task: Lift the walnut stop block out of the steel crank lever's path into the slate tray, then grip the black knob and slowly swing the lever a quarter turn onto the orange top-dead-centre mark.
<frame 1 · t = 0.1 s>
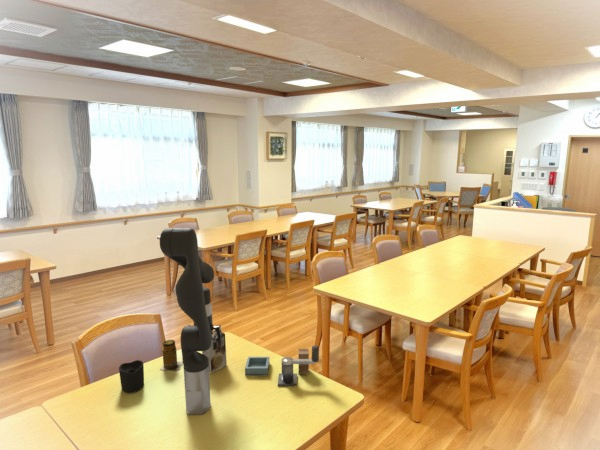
hand: (204, 349, 162), 17 cm above the table, tool pointing down, fingers open, 8 cm apart
pen holder: (133, 387, 165), on the table
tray: (257, 369, 178), on the table
crank lever: (300, 355, 167), point 12 cm above the table, hinge at -90.0°
coffee box: (214, 367, 180), on the table
condiment: (172, 366, 181), on the table
stop block: (303, 371, 176), on the table
crank pedestal: (287, 380, 169), on the table
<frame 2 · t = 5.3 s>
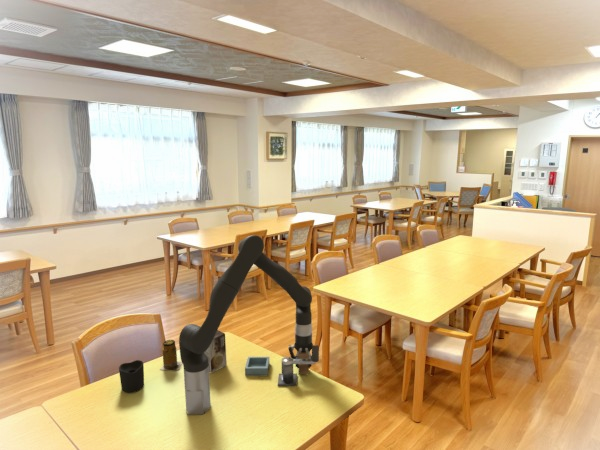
hand: (303, 367, 176), 2 cm above the table, tool pointing down, fingers closed on stop block, 4 cm apart
stop block: (303, 371, 176), on the table, touching gripper
everything else where it was.
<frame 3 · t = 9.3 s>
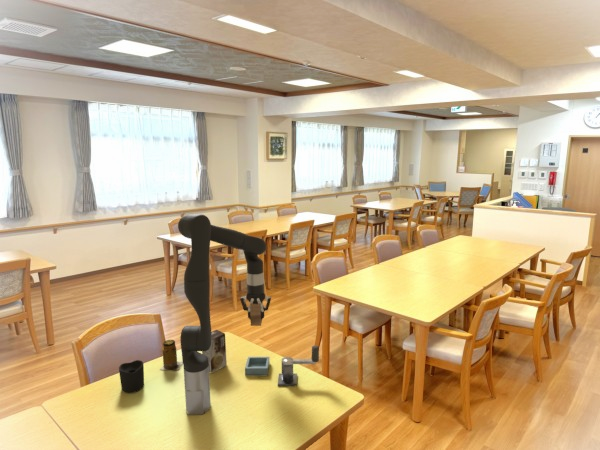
hand: (256, 318, 174), 25 cm above the table, tool pointing down, fingers closed on stop block, 4 cm apart
stop block: (256, 323, 174), point 22 cm above the table, touching gripper
everything else where it was.
when the fingers open (5 cm above the table, at t = 13.3 s): stop block drops 1 cm, resting on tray.
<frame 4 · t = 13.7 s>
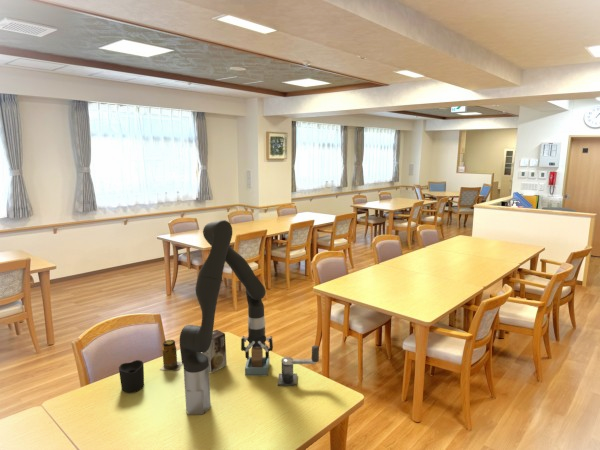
hand: (257, 358, 177), 5 cm above the table, tool pointing down, fingers open, 8 cm apart
stop block: (257, 367, 178), point 1 cm above the table, touching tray
everything else where it was.
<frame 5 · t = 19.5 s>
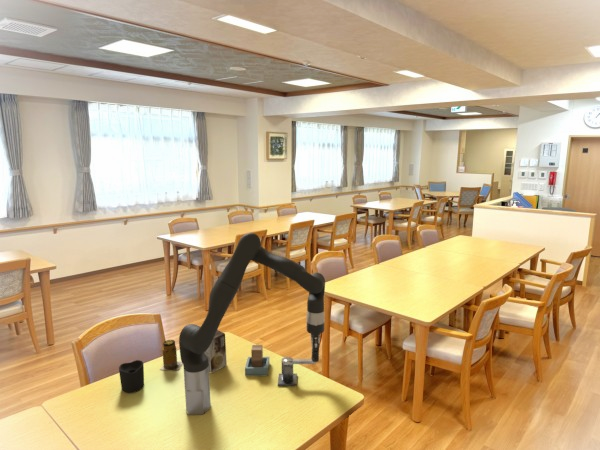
hand: (315, 358, 167), 11 cm above the table, tool pointing down, fingers closed on crank lever, 3 cm apart
crank lever: (300, 355, 167), point 12 cm above the table, hinge at -89.9°, touching gripper
everything else where it was.
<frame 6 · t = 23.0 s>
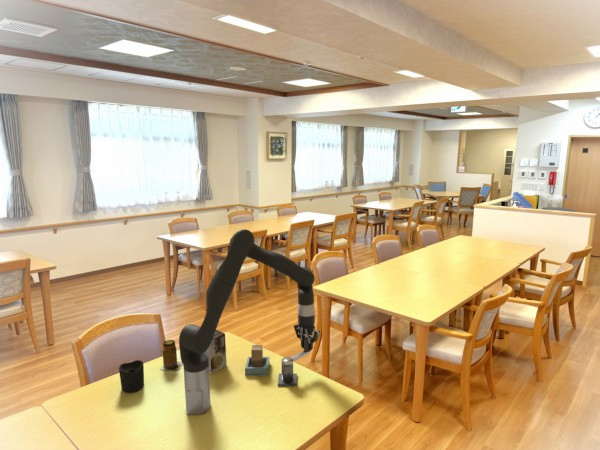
hand: (307, 348, 175), 11 cm above the table, tool pointing down, fingers closed on crank lever, 3 cm apart
crank lever: (296, 350, 171), point 12 cm above the table, hinge at -45.7°, touching gripper
everything else where it was.
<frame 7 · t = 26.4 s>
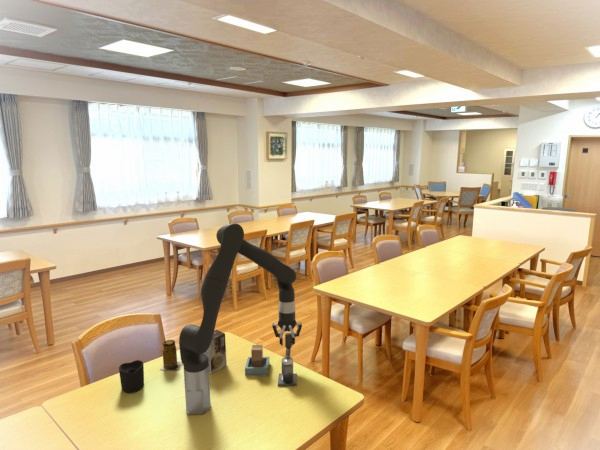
hand: (287, 344, 179), 11 cm above the table, tool pointing down, fingers open, 4 cm apart
crank lever: (287, 348, 173), point 12 cm above the table, hinge at -0.5°
everything else where it was.
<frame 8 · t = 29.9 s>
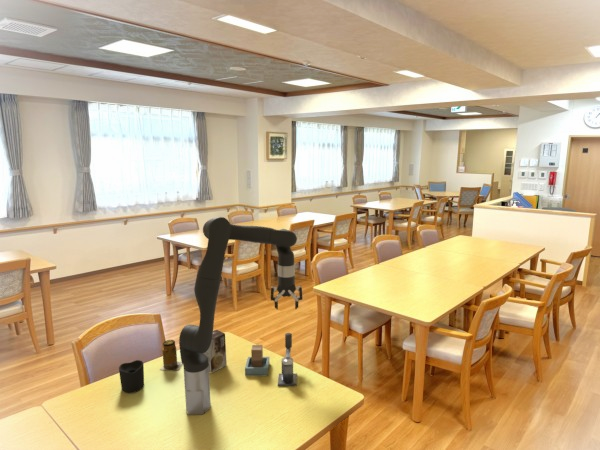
hand: (286, 308, 176), 28 cm above the table, tool pointing down, fingers open, 8 cm apart
nothing on the table moved.
at the end: stop block 0.1 cm off-centre on the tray, point 0.8 cm above the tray's base; stop block tilted 0°; crank lever at +0° (first picture: -90°) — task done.
